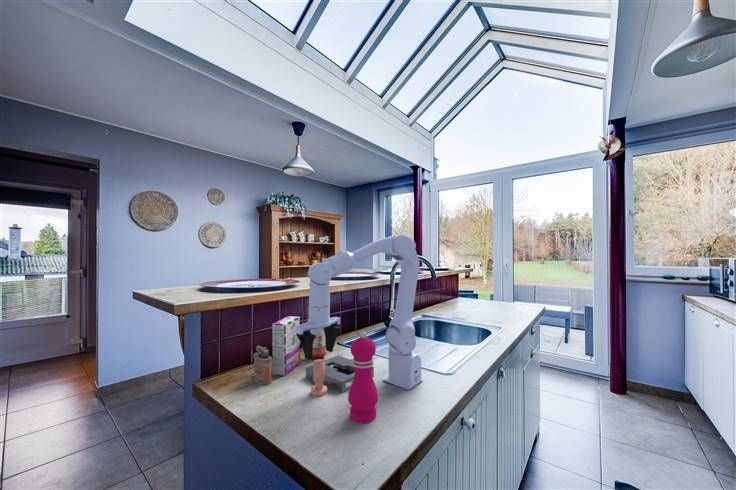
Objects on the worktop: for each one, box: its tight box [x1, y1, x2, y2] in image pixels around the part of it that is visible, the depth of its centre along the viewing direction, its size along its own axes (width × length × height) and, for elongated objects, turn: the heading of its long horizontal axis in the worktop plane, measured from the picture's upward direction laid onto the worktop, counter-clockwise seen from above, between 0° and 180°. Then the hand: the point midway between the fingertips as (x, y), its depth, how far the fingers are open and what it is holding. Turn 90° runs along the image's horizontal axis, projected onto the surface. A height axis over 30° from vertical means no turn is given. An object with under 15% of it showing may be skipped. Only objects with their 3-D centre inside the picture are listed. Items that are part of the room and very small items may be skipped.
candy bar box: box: [271, 315, 301, 377], centre depth 99 cm, size 11×5×16 cm, turn 168°
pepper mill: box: [347, 330, 379, 424], centre depth 71 cm, size 7×7×20 cm
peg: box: [310, 358, 328, 397], centre depth 82 cm, size 4×4×9 cm
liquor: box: [307, 304, 327, 360], centre depth 111 cm, size 7×7×28 cm
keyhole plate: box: [305, 355, 375, 393], centre depth 93 cm, size 16×14×3 cm
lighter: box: [252, 345, 273, 387], centre depth 90 cm, size 8×3×10 cm, turn 47°
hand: (319, 354), depth 83 cm, fingers open, 7 cm apart
